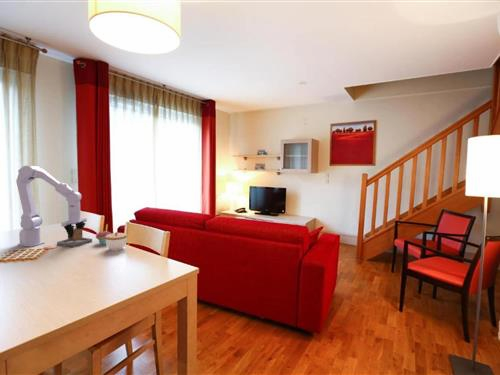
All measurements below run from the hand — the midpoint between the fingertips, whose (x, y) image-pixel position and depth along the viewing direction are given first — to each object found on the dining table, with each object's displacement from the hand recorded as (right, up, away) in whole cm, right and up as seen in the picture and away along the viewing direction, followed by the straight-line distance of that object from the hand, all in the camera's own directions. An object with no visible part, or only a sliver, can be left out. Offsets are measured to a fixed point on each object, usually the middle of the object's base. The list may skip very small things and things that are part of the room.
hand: (74, 236), depth 155 cm
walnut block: (0, -2, 0) cm, 2 cm away
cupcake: (+16, -5, +2) cm, 17 cm away
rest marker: (-7, -5, -9) cm, 13 cm away
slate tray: (0, -4, 0) cm, 4 cm away
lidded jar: (+28, -6, -8) cm, 29 cm away
